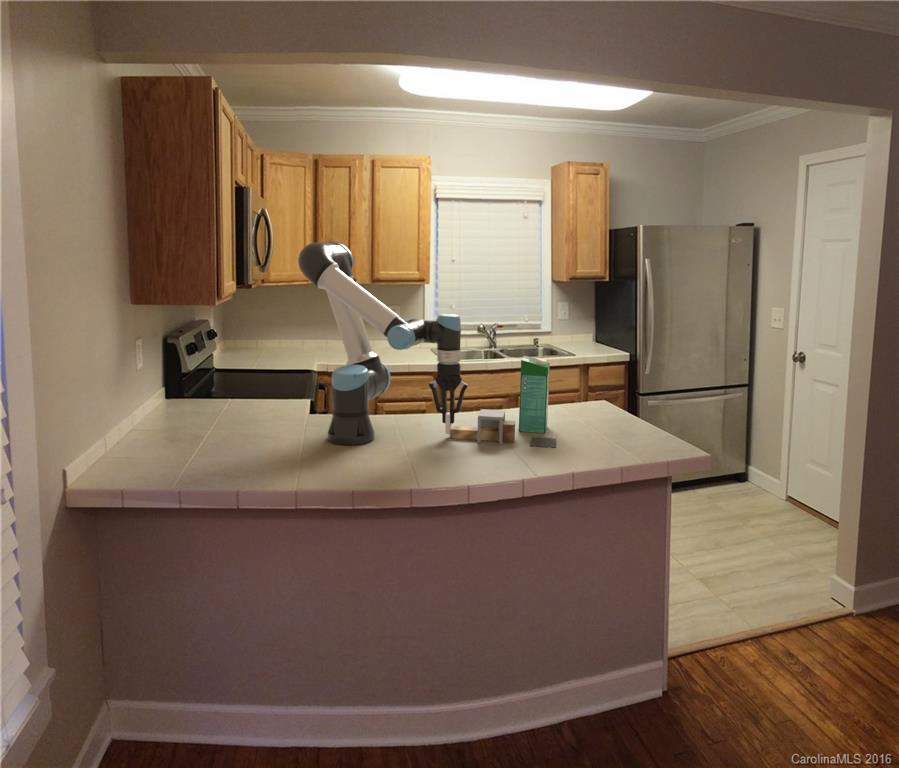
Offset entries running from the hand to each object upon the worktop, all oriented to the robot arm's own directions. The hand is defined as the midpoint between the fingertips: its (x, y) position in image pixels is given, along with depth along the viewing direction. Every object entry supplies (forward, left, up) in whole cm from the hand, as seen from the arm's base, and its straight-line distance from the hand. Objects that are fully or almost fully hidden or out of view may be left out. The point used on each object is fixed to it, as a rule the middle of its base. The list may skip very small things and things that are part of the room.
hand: (448, 432), depth 237 cm
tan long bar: (+9, +1, -2) cm, 9 cm away
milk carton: (+27, +16, -2) cm, 32 cm away
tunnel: (+14, 0, -2) cm, 14 cm away
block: (+19, +1, -2) cm, 19 cm away
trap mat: (+31, 0, -2) cm, 31 cm away
